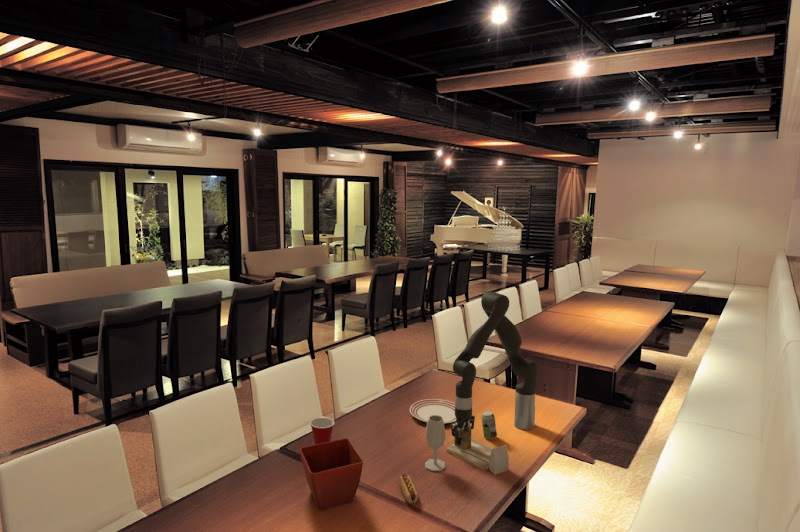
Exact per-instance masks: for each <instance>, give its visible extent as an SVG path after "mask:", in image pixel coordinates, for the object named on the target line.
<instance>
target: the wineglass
mask: <svg viewBox="0 0 800 532" xmlns="http://www.w3.org/2000/svg"><path fill="white" fill-rule="evenodd" d="M425 439H426V443H427V446H428V447H429V448H431V449H432V450H433V458H429V459H428V460H427V461H425V462H424V468H425V469H426V470H428V471H430V472H442V471H443V470H444V469H446V462H445V461H443V460H442V459H439V458H438V450H439V449H440V448H442V447H443V446H444V444H445V440H446V428H445V424H444V421H443V417H442V416H439V415H431V416H430V417H429V418H428V421H427V422H426V427H425Z"/></svg>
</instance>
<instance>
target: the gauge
mask: <svg viewBox="0 0 800 532" xmlns="http://www.w3.org/2000/svg"><path fill="white" fill-rule="evenodd" d="M458 429H459V430H461V429H460V428H458ZM458 434H459V431H458ZM455 439H456V437H454V439H453V442H454V443H453V444H454V446H457V447H459V448H461V449H463V450H467V449H469V448H471V439H472V429H471V430H470V429H468V428H464V430H463V432H462V433H461V445H457V444H456V443H455V441H456V440H455Z"/></svg>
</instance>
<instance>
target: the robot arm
mask: <svg viewBox="0 0 800 532" xmlns="http://www.w3.org/2000/svg"><path fill="white" fill-rule="evenodd" d="M480 305H481V307H482V310H483V312H484V313H485V314H486V316H487V320H486V321H485V322H484V323H483V324H482V325H481V326H479V327H478V328H477V329H476V330H475V331H474V332H473V333H472V334H471V336H470V338H469V340H468V341H467V342H466V343H467V344H466V346H465V348H464V349H463V350H462V352H460V354H459V355H458V356H457V357H456V358H455V360H454V361H453V365H452V371H453V373H454V374H455V375H457V376H459V377H461V378H462V379H461V380H458V381H457V382H456V384H455V398H454V403H455V416H456V421H455V422H451V423H450V427H451V428H450V429H451V436H453V437H454V439H455V437H456V439H455V440H456V441H455V443H456V444H457V445H461V433H462V432H463V430H464V428H468V429H470V430H471V431H472V430H474V428H475V421H476V420H475V419H476V416H475V415H473V386H474V382H475V379H476V376H477V369H476V368H477V367H476V366H475V364H474V363H473V362H471V360H473V359H479V358H480V357H481V354H482V353H483V351H484V348H485V346H486V344H487V342H488V340H489V339H490V338H491V335H492V333H493V332H494V331H495V332H496V335H497V337H498V339H499V341H500V343H501V346H502V347H503V350H504V351H505V353H506V356H507V358H508V361H509V364H510V367H511V370H512V372H513V374H514V375H515V376H516V377H519V378H523V379H524V382H519V383H517V384H516V385H515V394H514V396H515V398H514V399H515V400H514V401H515V402H514V423H513V425H514V426H515V427H516V428H517V429H519V430H525V431H527V430H528V431H529V430H532V429H534V427H535V420H536V389H537V387H538V378H539V365H538V363H537V361H535V360H531V359H528V358H526V357H524V356H523V355H522V353H521V351H520V348H521V346H522V342H523V341H522V336H521V334H520V332H519V330H518V328H517V326H516V325H515V324H514V323H513V322H512V321H511V320H510V319H509V318H508V317H507V316H506V314H507V312H508V309H509V307H510V299H509V297H508V296H506V295H505V294H502V293H499V292H496V291H495V292H494V291H486V292H484V293H483V294H482V297H481V301H480ZM458 428H460V429H461V430H459V429H458ZM458 431H459V434H458Z"/></svg>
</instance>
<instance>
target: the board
mask: <svg viewBox="0 0 800 532" xmlns="http://www.w3.org/2000/svg"><path fill="white" fill-rule="evenodd" d="M492 449H494V448H493V447H490V446H489V445H486V444H483V443H481V442H479V441H477V440H474V439H472V438H471V448H469V449H467V450H463V449H461V448H459V447H457V446H454V443H453V444H451V445H449V446H447V447H446V453H447V452H448V453H447V454H449V453H450V454H449V455H451V454H452V456H453V455H454V457H455V456H456V458H458V459H459V460H461V461H464V462H466V463H468V464H470V465H472V466H474V467H476V468H478V469H481V470H483V471H487V470H489V459H490V454H491V452H492Z"/></svg>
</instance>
